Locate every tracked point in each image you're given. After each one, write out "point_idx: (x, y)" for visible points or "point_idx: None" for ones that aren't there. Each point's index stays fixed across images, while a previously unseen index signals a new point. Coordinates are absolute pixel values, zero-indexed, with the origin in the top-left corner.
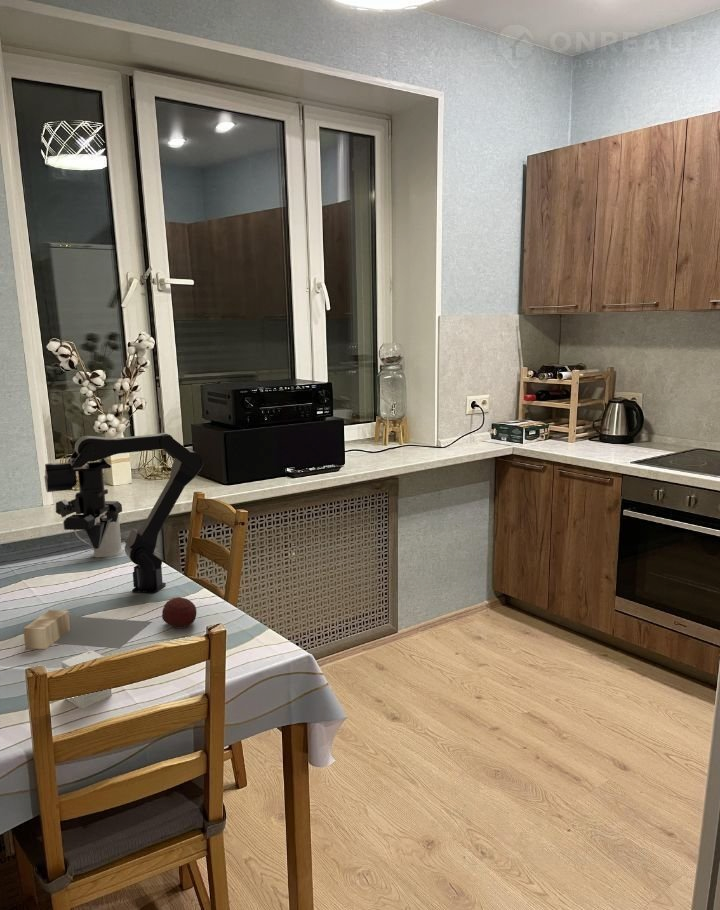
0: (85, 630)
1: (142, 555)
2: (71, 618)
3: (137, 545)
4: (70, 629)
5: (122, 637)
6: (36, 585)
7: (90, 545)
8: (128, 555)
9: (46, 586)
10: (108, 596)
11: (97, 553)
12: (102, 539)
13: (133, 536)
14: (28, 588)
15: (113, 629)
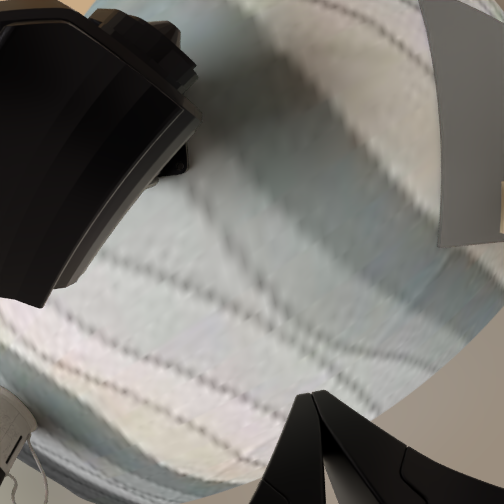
0: (500, 138)
1: (175, 26)
2: (453, 225)
3: (126, 50)
4: (501, 181)
5: (497, 36)
6: (225, 455)
7: (32, 448)
8: (155, 175)
9: (223, 440)
10: (250, 236)
11: (30, 425)
12: (290, 438)
13: (6, 162)
14: (247, 457)
15: (481, 68)
